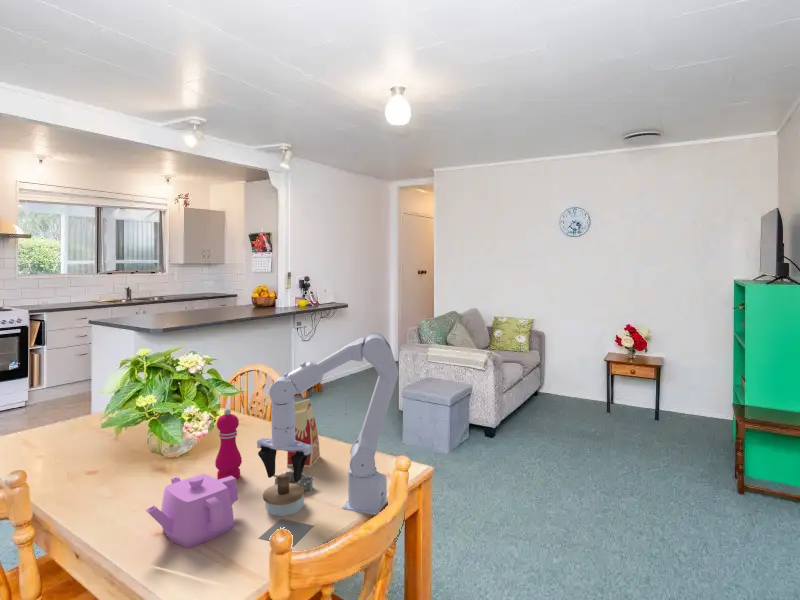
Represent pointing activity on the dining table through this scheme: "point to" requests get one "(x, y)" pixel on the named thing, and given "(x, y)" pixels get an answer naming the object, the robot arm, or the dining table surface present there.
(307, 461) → the milk carton
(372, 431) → the robot arm
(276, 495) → the lid
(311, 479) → the egg carton
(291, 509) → the bowl
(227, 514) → the teakettle
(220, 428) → the pepper mill
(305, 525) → the mat
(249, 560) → the dining table surface
